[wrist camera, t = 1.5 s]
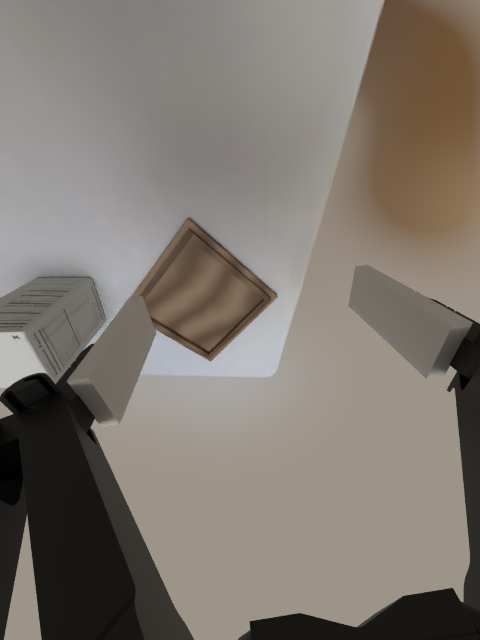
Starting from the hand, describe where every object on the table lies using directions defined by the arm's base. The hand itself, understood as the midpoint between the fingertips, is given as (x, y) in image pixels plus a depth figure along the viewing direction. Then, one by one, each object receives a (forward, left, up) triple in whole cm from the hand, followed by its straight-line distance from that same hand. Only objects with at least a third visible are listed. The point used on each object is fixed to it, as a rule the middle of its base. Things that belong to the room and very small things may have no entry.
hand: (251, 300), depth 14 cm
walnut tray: (+5, -14, -27) cm, 31 cm away
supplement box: (-13, -29, -27) cm, 42 cm away
